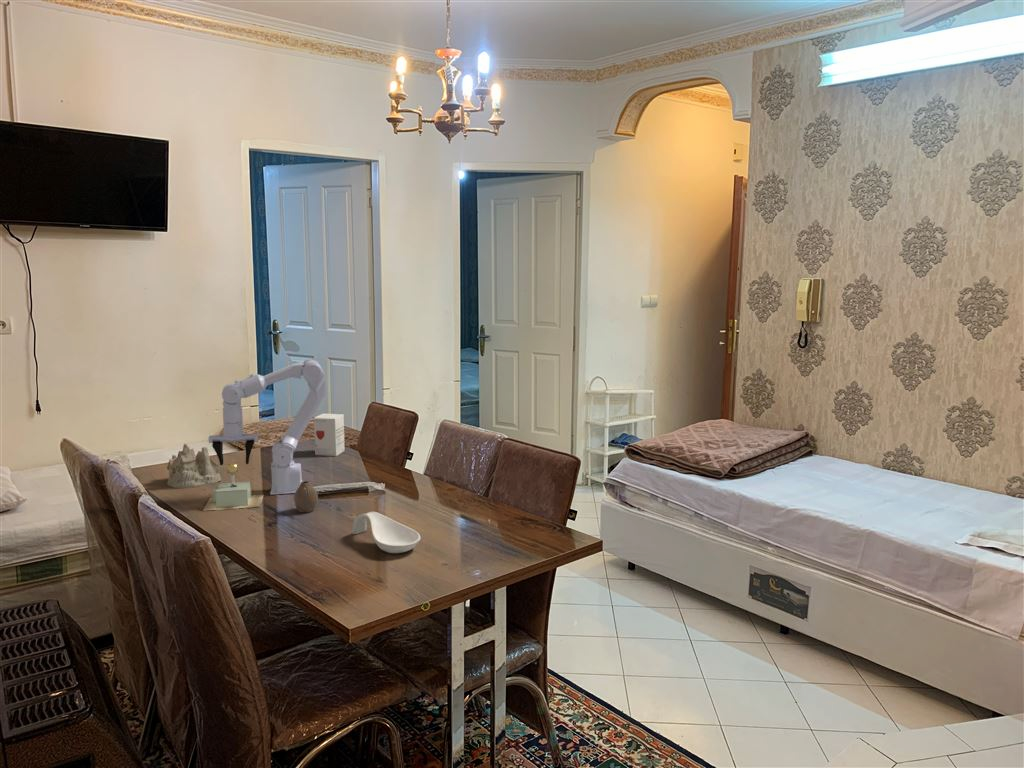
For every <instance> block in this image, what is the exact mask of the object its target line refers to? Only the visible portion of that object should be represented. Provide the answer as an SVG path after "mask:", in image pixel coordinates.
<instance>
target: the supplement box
mask: <svg viewBox="0 0 1024 768" xmlns="http://www.w3.org/2000/svg"><path fill="white" fill-rule="evenodd" d="M344 416H345V415H344V414H343V413H342V414H339V413H320V414H319V415H317V416H314V418H313V431H314V454H315V455H314V456H323V457H325V456H327V457H329V456H330V457H337V456H338V455H340V454H342V453H344V452H345V420H344V419H345V418H344Z"/></svg>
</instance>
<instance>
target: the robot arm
mask: <svg viewBox="0 0 1024 768" xmlns="http://www.w3.org/2000/svg"><path fill="white" fill-rule="evenodd" d="M248 376H249V377H246V378H244V379H241V380H238V379H236V380H234V383H228V384H226V385H224V387H223V388H222V391H221V397H222V406H223V407H222V419H223V420H222V422H223V434H217V435H214V434H213V435H209V436H208V444H211V443H212V445H211V446H212V448H213V450H214V452H215V453H216V456H217V458H218V462H219V465H220V466H223V465H224V455H223V454H224V452H223V445H224V443H227V442H228V443H234V442H237V443H239V442H245V443H244V447H245V465H249V463H250V456H251V454H252V449H253V447H254V444H255V443H256V442H258V441H259V434H258V433H255V434H254V433H252V434H250V433H244V427H243V426H244V424H243V423H244V422H243V420H244V419H243V407H242V398H243V399H247V398H249V397H251V396H255V395H257V394H260V393H263V392H264V391H266V389H267V386H270V385H273V384H275V383H278V382H281V381H285V380H287V379H291V378H294V379H299V380H301V379H302V377H303V378H304V380H305V382H307V386H308V389H309V392H308V394H307V396H306V397H305V399H304V401H303V402H302V404H301V406H300V408H299V409H298V411H297V412H296V414H295V416H294V417H293V419H292V421H291V423H290V424H289V426H288V427H287V430H286V431H285V432H284V434H283V435H282V436H281V437H280V439H279V440H278V441H276V442H275V443H274V444H273V445H272V447H271V456H272V457H271V459H272V462H270V470H271V472H270V473H271V490H270V492H269V494H270V495H272V496H273V495H284V494H286V495H287V494H295V492H296V490H297V489H298V487H299V486H300V484H301V482H303V477H302V464H301V463H297V462H295V460H293V458H294V452H295V450H296V448H297V445H298V444H299V441H300V438H301V437H302V435H303V434H304V432H305V430H306V428H307V427H308V425H309V423H310V422H311V420H312V418H313V417H314V415H315V413H316V412H317V410H318V408H319V407H320V405H321V403H322V401H323V399H325V397H326V393H327V388H326V387H327V386H326V374H325V372H324V370H323V368H322V366H321V365H320V363H319V362H318V361H317V360H316V359H312V358H311V359H306V360H304V361H303V360H302V361H298V362H295V363H293V364H290V365H287V366H285V367H283V368H279V369H277V370H275V371H272V372H270V373H267V374H266V375H261V374H254V373H250V374H249V375H248Z"/></svg>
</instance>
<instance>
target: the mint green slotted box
mask: <svg viewBox="0 0 1024 768" xmlns="http://www.w3.org/2000/svg"><path fill="white" fill-rule="evenodd" d="M251 485H252V484H251V480H250V481H235V487H232V484H231V482H219V485H218V486H217V488H214V489H213V490H212V498H213V502H216V507H217V508H218V507H233V506H247V505H248V504H249V502H250V499H251V495H252V486H251Z"/></svg>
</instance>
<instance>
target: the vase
mask: <svg viewBox="0 0 1024 768" xmlns="http://www.w3.org/2000/svg"><path fill="white" fill-rule="evenodd" d="M318 502H319V495H318V492H317V490H316V489H315V488H314V486H313V485H312V484H311V482H310V481H309V480H302V482H301V484H300V486H299V487H298V489H297V490H296V492H295V493H294V496H293V503H294V506H295V508H296V510H297V511H299V512H300V513H310V512H312V511H315V509H316V507H317V505H318Z"/></svg>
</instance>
